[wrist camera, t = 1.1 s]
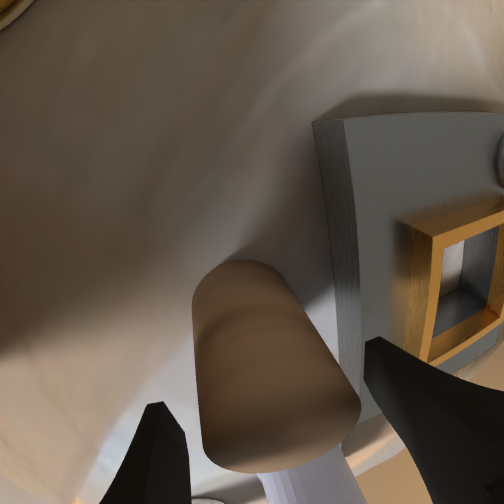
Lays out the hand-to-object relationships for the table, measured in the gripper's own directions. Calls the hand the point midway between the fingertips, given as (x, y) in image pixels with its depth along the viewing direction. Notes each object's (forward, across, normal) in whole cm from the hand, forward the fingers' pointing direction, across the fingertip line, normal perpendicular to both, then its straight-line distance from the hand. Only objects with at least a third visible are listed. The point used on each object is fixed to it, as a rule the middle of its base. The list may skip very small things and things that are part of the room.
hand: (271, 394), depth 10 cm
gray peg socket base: (+6, -12, +1) cm, 14 cm away
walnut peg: (+6, 0, 0) cm, 6 cm away
